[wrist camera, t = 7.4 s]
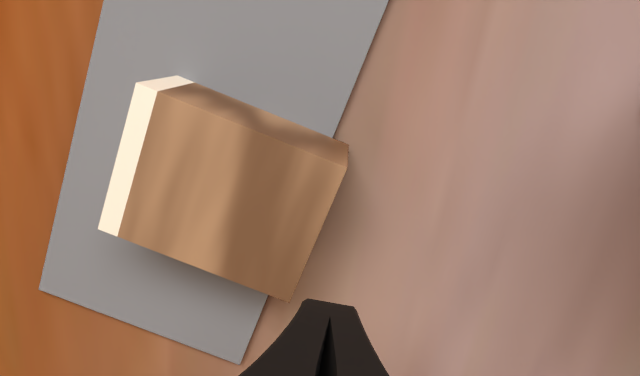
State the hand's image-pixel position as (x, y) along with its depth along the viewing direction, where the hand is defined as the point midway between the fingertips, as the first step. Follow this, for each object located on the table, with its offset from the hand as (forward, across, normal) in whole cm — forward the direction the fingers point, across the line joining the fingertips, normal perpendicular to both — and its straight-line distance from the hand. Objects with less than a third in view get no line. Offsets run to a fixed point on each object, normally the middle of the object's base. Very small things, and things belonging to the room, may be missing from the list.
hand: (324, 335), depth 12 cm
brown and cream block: (+8, +1, 0) cm, 8 cm away
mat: (+10, +7, -2) cm, 12 cm away
